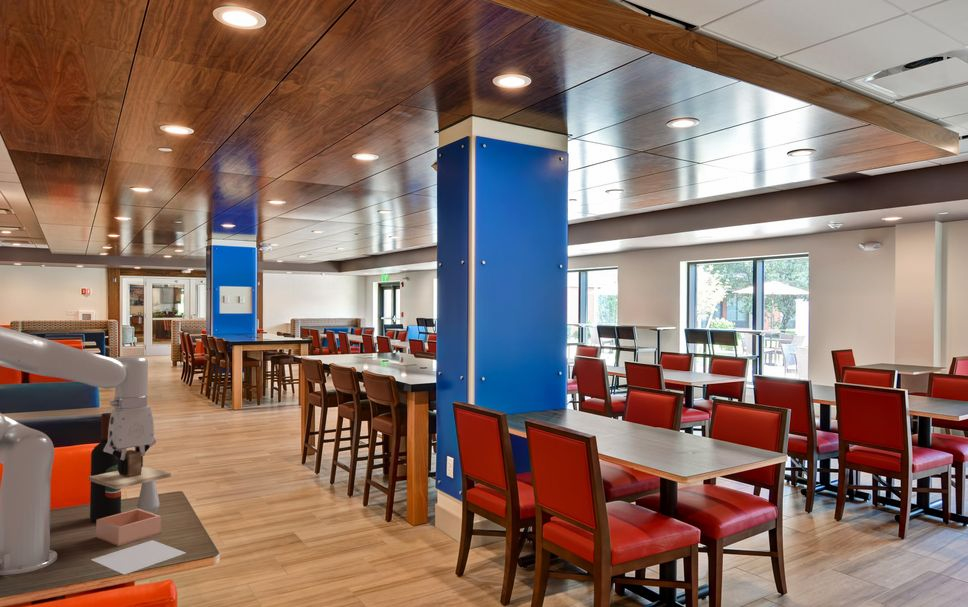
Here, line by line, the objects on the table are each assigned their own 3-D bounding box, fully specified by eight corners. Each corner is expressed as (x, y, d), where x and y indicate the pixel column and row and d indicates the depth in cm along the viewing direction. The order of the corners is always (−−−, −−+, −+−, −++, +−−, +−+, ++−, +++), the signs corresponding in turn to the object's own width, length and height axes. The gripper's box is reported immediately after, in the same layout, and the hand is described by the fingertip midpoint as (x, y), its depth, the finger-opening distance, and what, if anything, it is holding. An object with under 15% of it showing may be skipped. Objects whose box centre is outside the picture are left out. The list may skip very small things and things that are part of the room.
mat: (124, 576, 140) (124, 574, 140) (90, 561, 148) (90, 559, 148) (186, 554, 152) (186, 552, 152) (152, 541, 160) (152, 540, 160)
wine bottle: (101, 513, 182) (103, 411, 182) (126, 514, 181) (128, 411, 182) (83, 522, 174) (85, 415, 174) (109, 523, 174) (111, 416, 174)
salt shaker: (163, 510, 185) (164, 467, 185) (151, 517, 179) (152, 472, 179) (145, 509, 185) (145, 466, 185) (132, 516, 180) (133, 471, 180)
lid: (116, 489, 154) (116, 461, 154) (88, 480, 162) (88, 453, 162) (170, 476, 166) (171, 450, 166) (142, 469, 173) (142, 444, 173)
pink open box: (118, 547, 156) (118, 527, 156) (96, 538, 162) (96, 519, 162) (160, 534, 165) (161, 515, 165) (138, 526, 171) (138, 508, 171)
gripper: (105, 408, 155) (104, 481, 155) (169, 400, 169) (168, 468, 168) (91, 405, 159) (89, 477, 159) (153, 398, 173) (153, 464, 173)
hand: (130, 471), depth 164 cm, fingers closed on lid, 3 cm apart
